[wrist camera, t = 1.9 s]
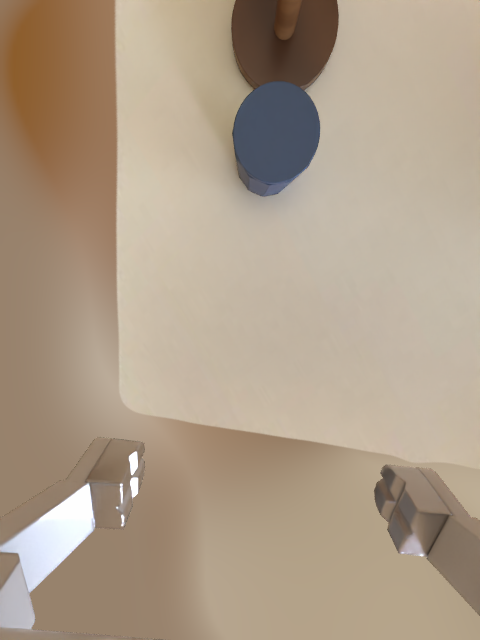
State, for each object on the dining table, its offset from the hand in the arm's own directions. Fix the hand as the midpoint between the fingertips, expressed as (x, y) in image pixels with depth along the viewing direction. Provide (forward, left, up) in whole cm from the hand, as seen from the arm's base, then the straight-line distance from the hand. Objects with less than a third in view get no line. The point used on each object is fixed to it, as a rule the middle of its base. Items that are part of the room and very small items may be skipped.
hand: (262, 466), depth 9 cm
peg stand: (-16, -17, -24) cm, 34 cm away
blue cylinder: (-9, -10, -24) cm, 28 cm away
